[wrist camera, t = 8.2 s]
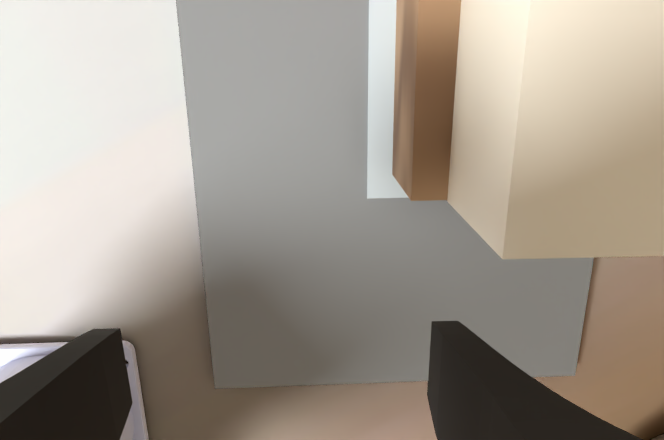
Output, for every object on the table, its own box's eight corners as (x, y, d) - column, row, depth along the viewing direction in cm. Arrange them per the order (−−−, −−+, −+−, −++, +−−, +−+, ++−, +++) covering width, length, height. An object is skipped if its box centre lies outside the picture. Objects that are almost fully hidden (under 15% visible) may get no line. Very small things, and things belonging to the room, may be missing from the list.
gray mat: (568, 368, 24) (576, 376, 24) (217, 380, 24) (214, 390, 23) (632, -44, 19) (644, -48, 18) (175, -41, 18) (170, -45, 18)
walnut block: (561, 170, 21) (618, 196, 17) (392, 174, 20) (410, 200, 17) (586, -17, 18) (658, -36, 15) (396, -16, 18) (419, -35, 14)
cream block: (580, 199, 17) (687, 255, 12) (447, 201, 17) (502, 259, 12) (616, -33, 15) (763, -76, 10) (463, -33, 14) (538, -78, 10)
